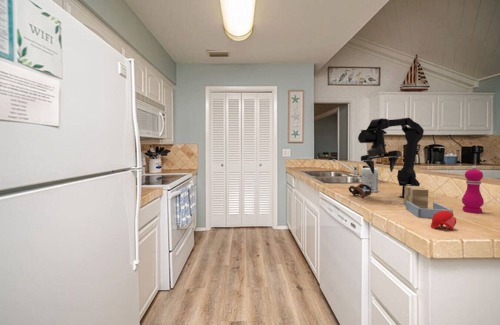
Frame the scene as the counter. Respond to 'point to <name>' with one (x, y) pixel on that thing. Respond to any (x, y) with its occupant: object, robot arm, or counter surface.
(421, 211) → the box
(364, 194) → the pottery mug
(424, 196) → the oak block
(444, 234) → the counter surface
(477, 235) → the counter surface
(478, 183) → the pepper mill
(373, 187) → the supplement tub
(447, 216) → the cap
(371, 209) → the counter surface
